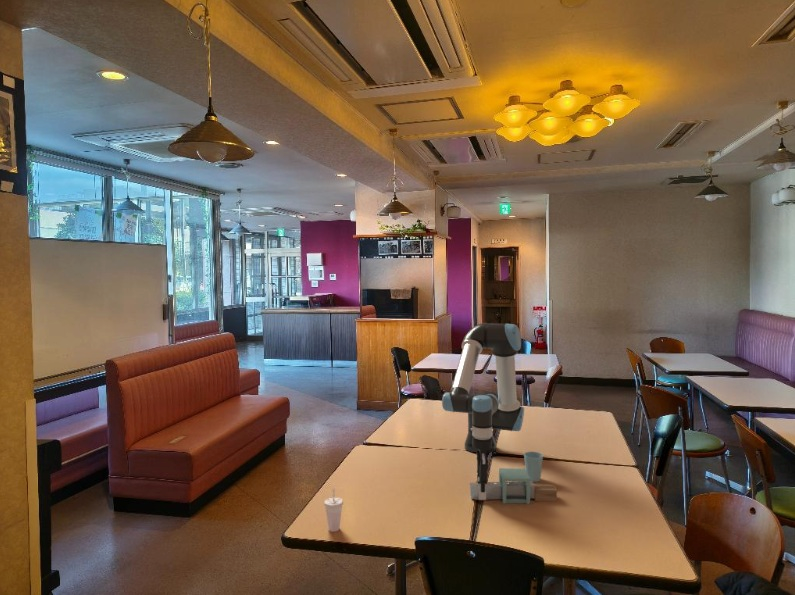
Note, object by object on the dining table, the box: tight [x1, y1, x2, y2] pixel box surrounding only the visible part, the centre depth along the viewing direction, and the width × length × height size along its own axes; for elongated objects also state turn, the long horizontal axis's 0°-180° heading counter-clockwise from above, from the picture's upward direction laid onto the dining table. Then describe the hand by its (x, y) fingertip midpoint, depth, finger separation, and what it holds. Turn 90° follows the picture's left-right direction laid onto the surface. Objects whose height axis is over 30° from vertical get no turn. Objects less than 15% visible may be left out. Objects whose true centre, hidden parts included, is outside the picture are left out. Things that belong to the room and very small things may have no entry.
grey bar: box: [469, 481, 535, 501], centre depth 200 cm, size 4×24×5 cm, turn 87°
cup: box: [523, 451, 544, 483], centre depth 217 cm, size 8×8×10 cm
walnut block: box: [533, 483, 558, 502], centre depth 199 cm, size 5×8×4 cm, turn 87°
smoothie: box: [323, 487, 344, 533], centre depth 177 cm, size 6×6×14 cm
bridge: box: [498, 467, 531, 505], centre depth 199 cm, size 10×10×10 cm
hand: (481, 496), depth 200 cm, fingers closed on grey bar, 4 cm apart
